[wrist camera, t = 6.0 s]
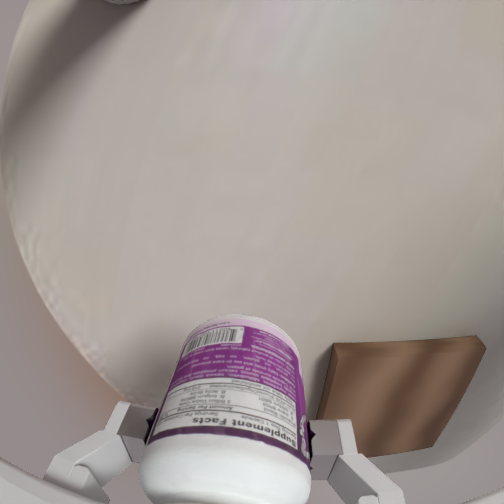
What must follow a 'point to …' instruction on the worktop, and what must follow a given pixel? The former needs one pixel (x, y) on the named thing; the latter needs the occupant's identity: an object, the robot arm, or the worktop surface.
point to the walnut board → (398, 390)
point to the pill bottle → (231, 420)
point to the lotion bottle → (122, 1)
